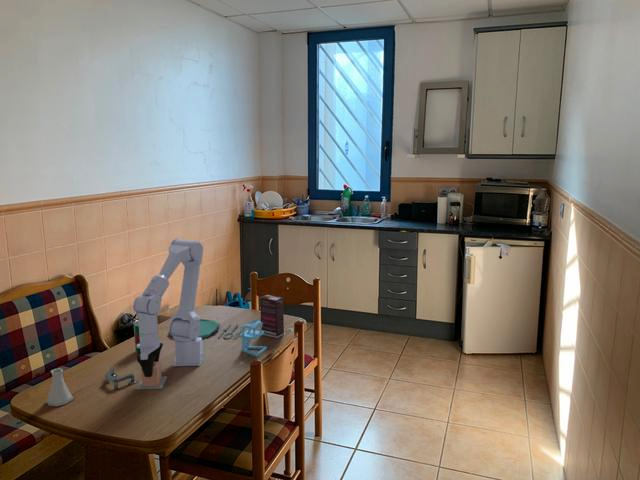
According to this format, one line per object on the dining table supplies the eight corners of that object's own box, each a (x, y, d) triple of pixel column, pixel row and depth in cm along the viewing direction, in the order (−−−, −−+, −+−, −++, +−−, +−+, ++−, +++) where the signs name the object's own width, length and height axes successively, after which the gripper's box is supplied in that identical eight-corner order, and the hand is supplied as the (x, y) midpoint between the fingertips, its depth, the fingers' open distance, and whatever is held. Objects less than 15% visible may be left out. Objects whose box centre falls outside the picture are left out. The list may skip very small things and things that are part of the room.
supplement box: (284, 334, 208) (284, 297, 205) (277, 338, 204) (276, 300, 201) (267, 330, 213) (267, 294, 210) (260, 334, 209) (259, 297, 206)
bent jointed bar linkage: (141, 373, 173) (141, 365, 173) (132, 388, 163) (131, 380, 162) (110, 374, 173) (109, 366, 172) (98, 389, 162) (98, 381, 162)
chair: (248, 345, 197) (247, 316, 195) (267, 349, 194) (266, 319, 192) (237, 353, 190) (236, 322, 188) (256, 356, 187) (255, 325, 185)
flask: (55, 409, 151) (52, 378, 149) (41, 403, 154) (38, 372, 152) (78, 399, 157) (75, 368, 155) (64, 393, 160) (61, 363, 158)
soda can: (145, 354, 189) (143, 324, 186) (133, 353, 190) (130, 323, 187) (152, 349, 194) (150, 319, 191) (140, 348, 195) (138, 318, 192)
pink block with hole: (161, 378, 169) (160, 361, 168) (157, 385, 164) (156, 368, 163) (146, 379, 169) (145, 362, 168) (142, 386, 164) (140, 368, 163)
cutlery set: (182, 321, 223) (181, 316, 223) (248, 326, 219) (248, 321, 218) (161, 339, 204) (161, 334, 204) (233, 345, 200) (233, 340, 199)
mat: (167, 377, 171) (167, 376, 171) (161, 388, 163) (161, 387, 163) (143, 377, 170) (143, 377, 170) (136, 389, 163) (136, 388, 163)
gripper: (142, 323, 170) (145, 361, 173) (129, 340, 156) (132, 381, 159) (163, 323, 171) (166, 361, 173) (152, 340, 156) (155, 381, 159)
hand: (151, 371), depth 166 cm, fingers open, 7 cm apart
